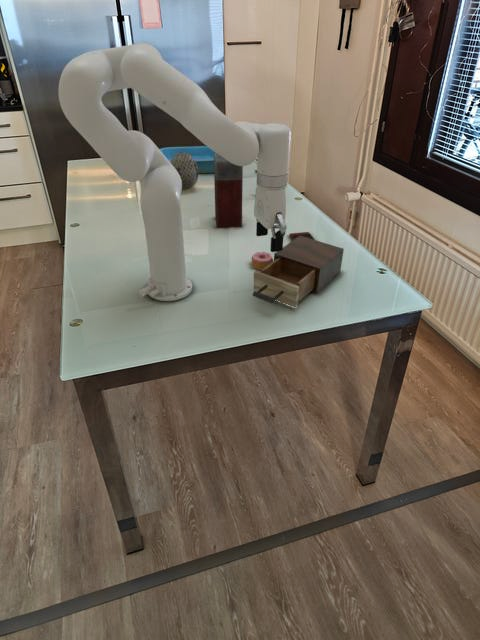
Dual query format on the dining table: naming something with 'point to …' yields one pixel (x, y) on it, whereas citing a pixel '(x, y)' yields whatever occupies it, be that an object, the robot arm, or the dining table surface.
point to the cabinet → (314, 258)
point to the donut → (261, 260)
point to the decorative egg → (185, 169)
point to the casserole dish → (194, 156)
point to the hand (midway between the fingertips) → (268, 242)
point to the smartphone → (304, 234)
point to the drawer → (284, 282)
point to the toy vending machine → (227, 193)
